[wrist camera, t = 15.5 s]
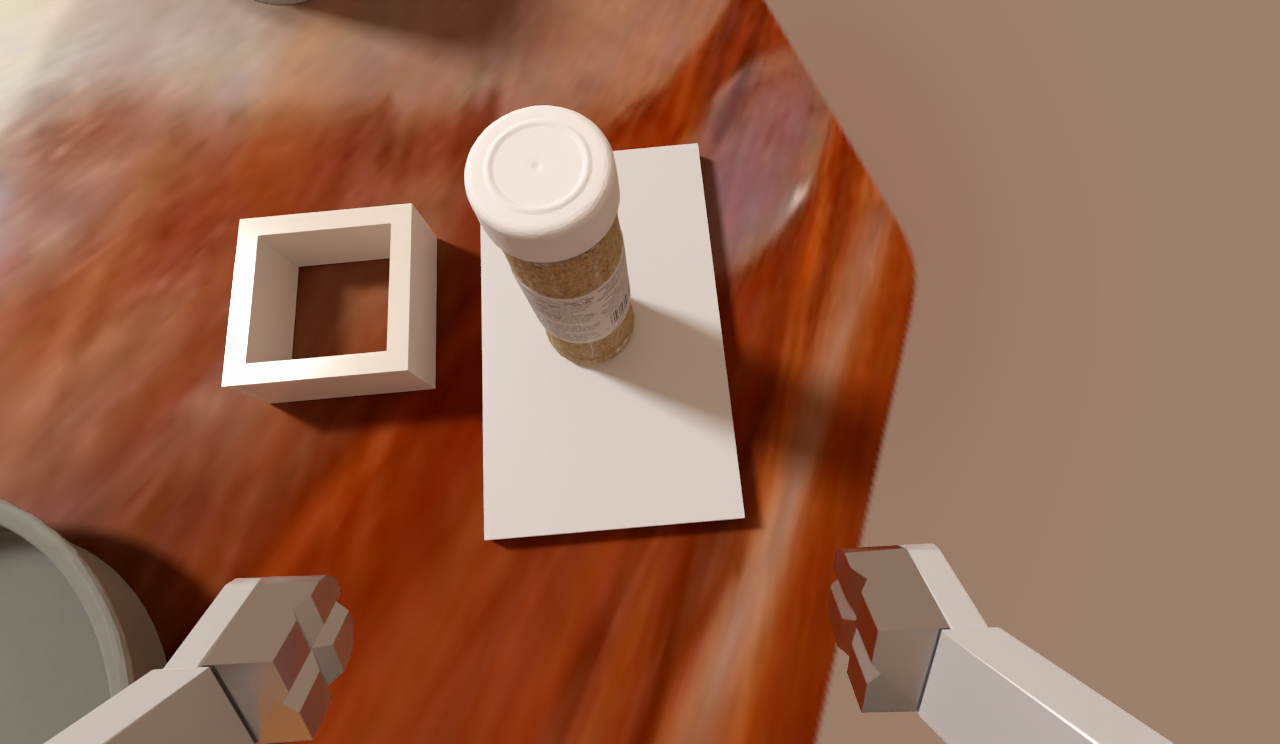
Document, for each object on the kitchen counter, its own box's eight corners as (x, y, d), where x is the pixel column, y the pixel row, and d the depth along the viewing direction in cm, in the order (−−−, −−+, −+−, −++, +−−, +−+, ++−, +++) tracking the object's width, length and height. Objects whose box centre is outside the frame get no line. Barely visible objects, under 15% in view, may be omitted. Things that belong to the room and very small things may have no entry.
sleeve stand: (435, 388, 31) (407, 370, 28) (268, 403, 31) (221, 386, 28) (437, 237, 33) (411, 203, 30) (282, 251, 34) (239, 219, 30)
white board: (742, 518, 29) (745, 517, 28) (490, 540, 29) (484, 540, 28) (696, 154, 34) (697, 143, 33) (484, 174, 34) (480, 163, 33)
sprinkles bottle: (579, 267, 32) (520, 74, 19) (653, 311, 31) (645, 141, 18) (527, 338, 31) (428, 186, 18) (603, 385, 30) (556, 262, 17)
